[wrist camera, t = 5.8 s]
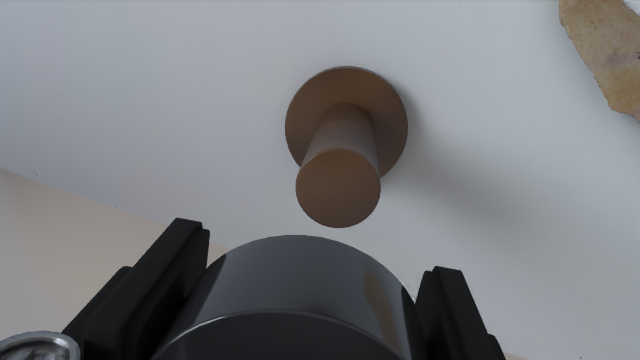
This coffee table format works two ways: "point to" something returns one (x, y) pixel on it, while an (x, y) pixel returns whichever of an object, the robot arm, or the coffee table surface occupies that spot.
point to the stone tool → (607, 47)
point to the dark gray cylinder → (295, 307)
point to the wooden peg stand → (344, 142)
